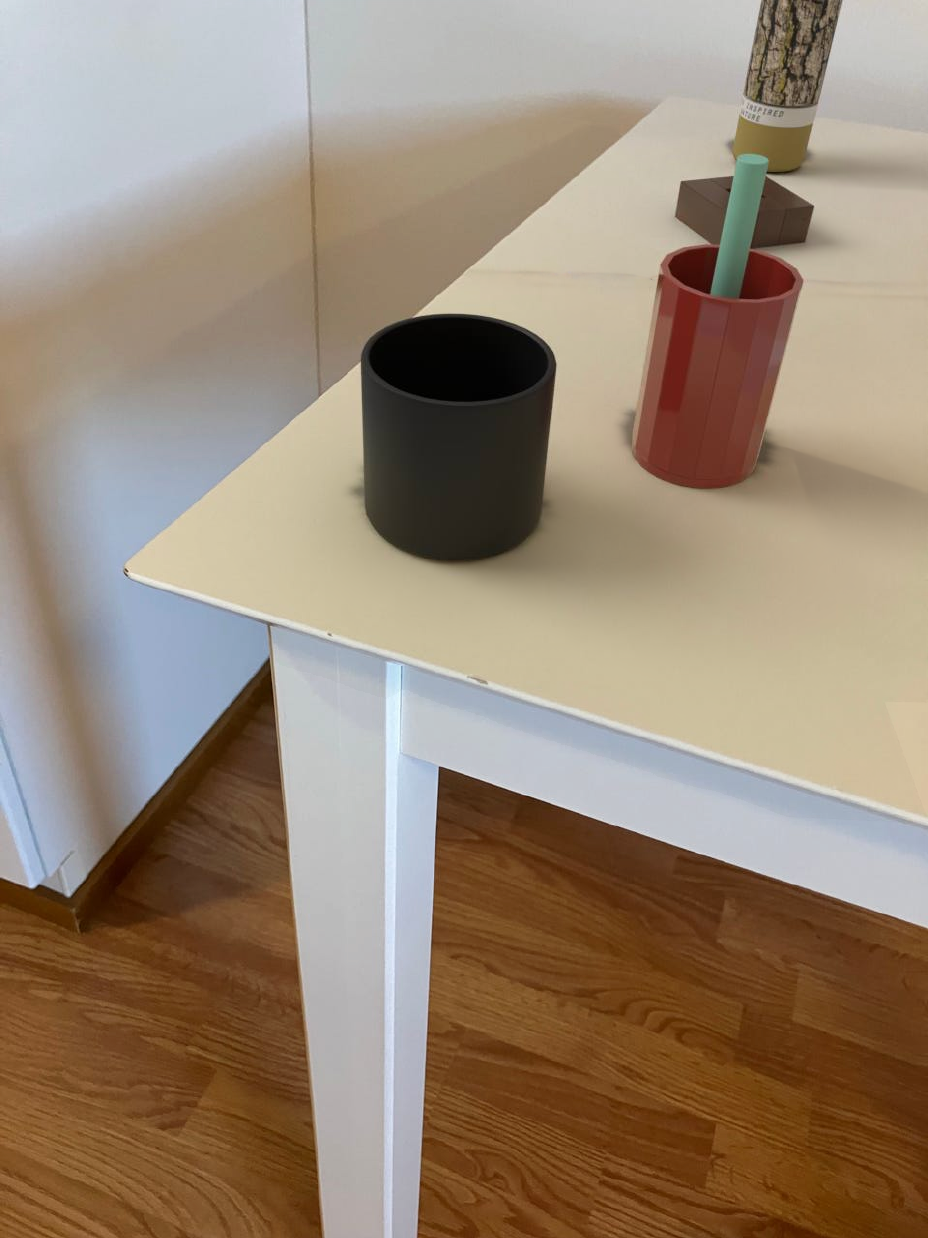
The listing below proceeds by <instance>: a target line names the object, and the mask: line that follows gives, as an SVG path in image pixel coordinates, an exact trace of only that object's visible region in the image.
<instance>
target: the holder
mask: <svg viewBox="0 0 928 1238" xmlns="http://www.w3.org/2000/svg"><path fill="white" fill-rule="evenodd" d="M733 178H734V175H729V176H728V175H727V176H719V177H718V176H717V177H716V176H715V177H709V178H708V177H706V178H698V179H697V178H696V179H687V180H681V181H680V184H679V190H678V195H677V201H676V206H675V213H674V218H675V219H677V220H678V221H680V222H681V223H682V224H684V225H685V226H686V227H688V228H689V229H690V230H692V231H693V232H694V233H696V234H697V235H698V236H700V237H701V238H702V239H704V240H705V241H707V243H709V244H713V245H720V243H721V238H722V233H723V228H724V223H725V218H726V213H727V208H728V203H729V198H730V193H731V188H732V183H733ZM814 209H815V205H814V204H812V203H811V202H809V201H807V200H805V199H804V198H802V197H801V196H799V195H798V194H796V193H794V192H792V190H790V189H788V188H786V187H785V186H783V185H781V184H780V183H778V182H776V181H775V180H773V179H772V178H770V177H769V176H767V175H766V177H765V182H764V186H763V191H762V195H761V200H760V204H759V209H758V214H757V218H756V223H755V227H754V232H753V236H752V241H751V246H750V249H755V250H756V249H761V248H762V249H763V248H770V247H771V248H772V247H777V246H787V245H795V244H802V243H803V244H804V243H806V241H807V237H808V233H809V229H810V225H811V222H812V217H813V213H814Z"/></svg>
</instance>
